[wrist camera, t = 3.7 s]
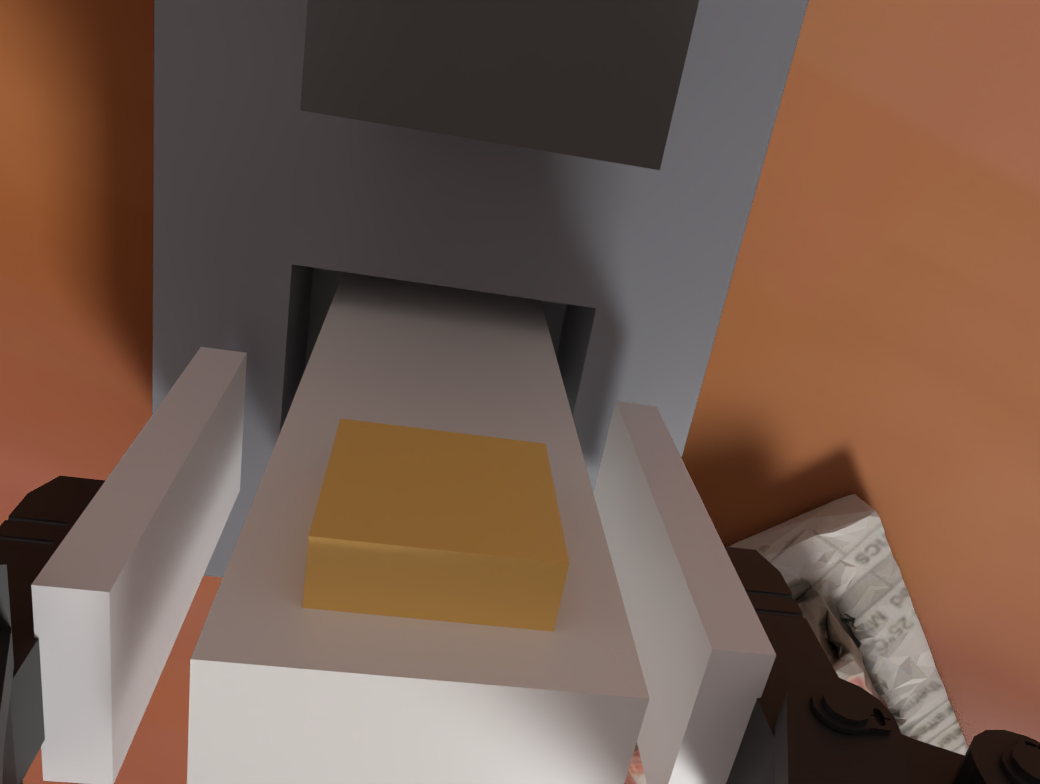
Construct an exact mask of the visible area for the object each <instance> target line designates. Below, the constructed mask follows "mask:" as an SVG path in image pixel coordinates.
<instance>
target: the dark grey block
mask: <svg viewBox="0 0 1040 784" xmlns="http://www.w3.org/2000/svg"><path fill="white" fill-rule="evenodd" d="M698 4H699V0H308V4H307V18H306V33H305V47H304V62H303V77H302V91H301V106H300V110H301V111H307V112H313V113H319V114H325V115H331V116H337V117H343V118H349V119H355V120H361V121H367V122H373V123H379V124H385V125H391V126H397V127H403V128H409V129H415V130H421V131H427V132H433V133H439V134H445V135H451V136H457V137H463V138H469V139H475V140H481V141H487V142H493V143H499V144H505V145H511V146H517V147H523V148H529V149H535V150H541V151H547V152H553V153H559V154H565V155H571V156H577V157H583V158H589V159H595V160H601V161H607V162H613V163H619V164H625V165H631V166H637V167H643V168H649V169H655V170H660V167H661V163H662V159H663V154H664V150H665V146H666V142H667V137H668V133H669V129H670V124H671V120H672V116H673V111H674V107H675V103H676V99H677V94H678V90H679V86H680V81H681V77H682V73H683V68H684V64H685V60H686V55H687V51H688V47H689V43H690V38H691V34H692V30H693V25H694V21H695V17H696V12H697V8H698Z"/></svg>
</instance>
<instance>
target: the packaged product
mask: <svg viewBox="0 0 1040 784" xmlns="http://www.w3.org/2000/svg"><path fill="white" fill-rule="evenodd" d="M728 547H735V548H744V549H753V550H757V551H758V552H759V553H760V554H761V555H762V556H763V557H764V558H765V559H767V560H768V561H769V562H770V563H771V564H772V565H773V566H774V567H775V568H777V569H778V570H779V571H780V573H781V574H782V576H783V578H784V580H785V582H786V583H787V585H788V587H789V589H790V591H791V592H792V594H793V595H792V599H795V600H796V601H797V603H798V605H799V607H800V609H801V610H802V612H803V618H806V619H807V621H808V623H809V625H810V626H811V628H812V630H813V632H814V634H815V635H816V637H817V639H818V641H819V643H820V644H821V646H822V648H823V650H824V652H825V653H826V655H827V657H828V659H829V661H830V662H831V664H832V666H833V668H834V670H835V671H836V673H837V675H838V677H839V678H841V679H844V680H846V681H848V682H851V683H853V684H855V685H858V686H860V687H861V688H863V689H864V690H866V691H867V692H869V693H870V694H872V695H873V696H875V697H876V698H877V699H879V700H880V701H881V702H882V703H883V704H884V706H885V707H886V708H887V709H888V710H889V711H890V712H891V713H892V714H893V715H894V718H895V720H896V722H897V724H898V727H899V729H900V731H901V734H903V735H906V736H908V737H911V738H913V739H916V740H919V741H922V742H925V743H928V744H931V745H934V746H937V747H940V748H943V749H946V750H949V751H952V752H956V753H959V754H962V755H965V754H966V752H967V750H968V746H967V744H966V741H965V739H964V736H963V734H962V731H961V729H960V726H959V723H958V721H957V719H956V716H955V714H954V711H953V709H952V707H951V704H950V702H949V700H948V697H947V694H946V691H945V688H944V685H943V683H942V681H941V678H940V676H939V674H938V671H937V669H936V667H935V664H934V661H933V658H932V655H931V652H930V649H929V646H928V644H927V641H926V638H925V636H924V633H923V630H922V628H921V625H920V622H919V620H918V618H917V615H916V613H915V610H914V608H913V605H912V602H911V599H910V596H909V593H908V591H907V588H906V586H905V584H904V581H903V579H902V576H901V573H900V569H899V567H898V565H897V563H896V561H895V559H894V557H893V555H892V552H891V549H890V546H889V544H888V542H887V540H886V536H885V532H884V529H883V526H882V523H881V520H880V517H879V515H878V514H877V512H876V510H875V509H873V508H872V507H871V506H869V505H868V504H867V503H866V502H864V501H863V500H862V499H860V498H859V497H858V496H857V495H855V494H852V495H849V496H846V497H843V498H840V499H837V500H834V501H832V502H830V503H827V504H825V505H823V506H820V507H818V508H816V509H813V510H811V511H809V512H806V513H804V514H802V515H799V516H797V517H795V518H792V519H790V520H788V521H786V522H783V523H781V524H779V525H776V526H774V527H772V528H769V529H767V530H765V531H762V532H760V533H758V534H755V535H753V536H751V537H748V538H746V539H744V540H741V541H739V542H737V543H735V544H733V545H731V546H728ZM624 784H647V782H646V778H645V774H644V770H643V766H642V761H641V757H640V753H639V749H638V745H637V743H636V746H635V749H634V753H633V756H632V759H631V763H630V766H629V769H628V773H627V776H626V780H625V783H624Z"/></svg>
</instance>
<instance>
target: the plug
mask: <svg viewBox="0 0 1040 784" xmlns="http://www.w3.org/2000/svg"><path fill="white" fill-rule="evenodd" d="M649 699H650V698H649V694H648V691H647V687H646V683H645V680H644V676H643V672H642V669H641V665H640V661H639V658H638V654H637V650H636V647H635V643H634V639H633V636H632V632H631V629H630V625H629V621H628V618H627V614H626V610H625V607H624V603H623V599H622V596H621V592H620V588H619V585H618V581H617V577H616V574H615V570H614V566H613V563H612V559H611V555H610V552H609V548H608V544H607V541H606V537H605V534H604V530H603V526H602V523H601V519H600V515H599V512H598V508H597V504H596V501H595V497H594V493H593V490H592V486H591V482H590V479H589V475H588V471H587V468H586V464H585V460H584V457H583V453H582V450H581V446H580V442H579V439H578V435H577V431H576V428H575V424H574V420H573V417H572V413H571V409H570V406H569V402H568V398H567V395H566V391H565V387H564V384H563V380H562V376H561V373H560V369H559V366H558V362H557V358H556V355H555V351H554V347H553V344H552V340H551V336H550V333H549V329H548V325H547V322H546V318H545V314H544V311H543V307H542V303H541V300H535V299H528V298H521V297H514V296H507V295H501V294H494V293H487V292H480V291H473V290H466V289H459V288H452V287H445V286H438V285H431V284H424V283H417V282H410V281H403V280H396V279H389V278H382V277H376V276H369V275H362V274H355V273H348V272H344V273H343V275H342V278H341V280H340V283H339V285H338V288H337V290H336V293H335V295H334V298H333V300H332V303H331V305H330V308H329V310H328V313H327V316H326V318H325V321H324V323H323V326H322V328H321V331H320V333H319V336H318V338H317V341H316V343H315V346H314V348H313V351H312V353H311V356H310V359H309V361H308V364H307V366H306V369H305V371H304V374H303V376H302V379H301V381H300V384H299V386H298V389H297V391H296V394H295V396H294V399H293V401H292V404H291V407H290V409H289V412H288V414H287V417H286V419H285V422H284V424H283V427H282V429H281V432H280V434H279V437H278V439H277V442H276V444H275V447H274V450H273V452H272V455H271V457H270V460H269V462H268V465H267V467H266V470H265V472H264V475H263V477H262V480H261V482H260V485H259V487H258V490H257V492H256V495H255V498H254V500H253V503H252V505H251V508H250V510H249V513H248V515H247V518H246V520H245V523H244V525H243V528H242V530H241V533H240V535H239V538H238V541H237V543H236V546H235V548H234V551H233V553H232V556H231V558H230V561H229V563H228V566H227V568H226V571H225V573H224V576H223V578H222V581H221V583H220V586H219V589H218V591H217V594H216V596H215V599H214V601H213V604H212V606H211V609H210V611H209V614H208V616H207V619H206V621H205V624H204V626H203V629H202V632H201V634H200V637H199V639H198V642H197V644H196V647H195V649H194V652H193V654H192V657H191V661H190V698H189V734H188V771H187V784H624V783H625V780H626V776H627V773H628V769H629V766H630V763H631V759H632V756H633V753H634V749H635V746H636V743H637V739H638V736H639V733H640V729H641V726H642V723H643V719H644V716H645V713H646V709H647V706H648V703H649Z"/></svg>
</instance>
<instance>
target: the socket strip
mask: <svg viewBox="0 0 1040 784" xmlns="http://www.w3.org/2000/svg"><path fill="white" fill-rule="evenodd" d="M808 1H809V0H699V4H698V8H697V12H696V17H695V21H694V25H693V30H692V34H691V38H690V43H689V47H688V51H687V55H686V60H685V64H684V68H683V73H682V77H681V81H680V86H679V90H678V94H677V99H676V103H675V107H674V111H673V116H672V120H671V124H670V129H669V133H668V137H667V142H666V146H665V150H664V154H663V159H662V163H661V167H660V170H655V169H649V168H643V167H637V166H631V165H625V164H619V163H613V162H607V161H601V160H595V159H589V158H583V157H577V156H571V155H565V154H559V153H553V152H547V151H541V150H535V149H529V148H523V147H517V146H511V145H505V144H499V143H493V142H487V141H481V140H475V139H469V138H463V137H457V136H451V135H445V134H439V133H433V132H427V131H421V130H415V129H409V128H403V127H397V126H391V125H385V124H379V123H373V122H367V121H361V120H355V119H349V118H343V117H337V116H331V115H325V114H319V113H313V112H307V111H301V110H300V106H301V91H302V77H303V62H304V47H305V33H306V18H307V4H308V0H154V180H153V397H152V415H153V413H154V412H155V411H156V409H157V408H158V406H159V405H160V403H161V402H162V401H163V399H164V398H165V396H166V395H167V394H168V392H169V391H170V389H171V388H172V387H173V385H174V384H175V382H176V381H177V380H178V378H179V377H180V375H181V374H182V373H183V371H184V370H185V368H186V367H187V366H188V364H189V363H190V361H191V360H192V359H193V357H194V356H195V354H196V353H197V352H198V350H199V349H200V347H207V348H214V349H222V350H230V351H237V352H245V353H247V361H246V380H245V400H244V420H243V439H242V459H241V479H240V491H239V494H238V496H237V498H236V501H235V503H234V505H233V508H232V510H231V512H230V515H229V517H228V519H227V522H226V524H225V526H224V529H223V531H222V533H221V536H220V538H219V540H218V542H217V545H216V547H215V549H214V552H213V554H212V556H211V559H210V561H209V563H208V566H207V568H206V570H205V573H204V575H205V576H216V577H223V576H224V573H225V571H226V568H227V566H228V563H229V561H230V558H231V556H232V553H233V551H234V548H235V546H236V543H237V541H238V538H239V535H240V533H241V530H242V528H243V525H244V523H245V520H246V518H247V515H248V513H249V510H250V508H251V505H252V503H253V500H254V498H255V495H256V492H257V490H258V487H259V485H260V482H261V480H262V477H263V475H264V472H265V470H266V467H267V465H268V462H269V460H270V457H271V455H272V452H273V450H274V447H275V444H276V442H277V439H278V437H279V434H280V432H281V429H282V427H283V424H284V422H285V419H286V417H287V414H288V412H289V409H290V407H291V404H292V401H293V399H294V396H295V394H296V391H297V389H298V386H299V384H300V381H301V379H302V376H303V374H304V371H305V369H306V366H307V364H308V361H309V359H310V356H311V353H312V351H313V348H314V346H315V343H316V341H317V338H318V336H319V333H320V331H321V328H322V326H323V323H324V321H325V318H326V316H327V313H328V310H329V308H330V305H331V303H332V300H333V298H334V295H335V293H336V290H337V288H338V285H339V283H340V280H341V278H342V275H343V273H344V272H348V273H355V274H362V275H369V276H376V277H382V278H389V279H396V280H403V281H410V282H417V283H424V284H431V285H438V286H445V287H452V288H459V289H466V290H473V291H480V292H487V293H494V294H501V295H507V296H514V297H521V298H528V299H535V300H541V303H542V307H543V311H544V314H545V318H546V322H547V325H548V329H549V333H550V336H551V340H552V344H553V347H554V351H555V355H556V358H557V362H558V366H559V369H560V373H561V376H562V380H563V384H564V387H565V391H566V395H567V398H568V402H569V406H570V409H571V413H572V417H573V420H574V424H575V428H576V431H577V435H578V439H579V442H580V446H581V450H582V453H583V457H584V460H585V464H586V468H587V471H588V475H589V479H590V482H591V486H592V490H593V493H594V490H595V486H596V482H597V478H598V473H599V469H600V465H601V461H602V457H603V452H604V448H605V444H606V440H607V435H608V431H609V427H610V423H611V419H612V414H613V410H614V406H615V402H616V401H621V402H628V403H636V404H644V405H651V406H657V408H658V410H659V413H660V415H661V417H662V419H663V421H664V423H665V425H666V427H667V429H668V431H669V433H670V435H671V437H672V440H673V442H674V444H675V446H676V448H677V450H678V452H679V454H680V456H681V458H682V454H683V451H684V447H685V443H686V440H687V436H688V433H689V429H690V425H691V422H692V418H693V415H694V411H695V407H696V404H697V400H698V397H699V393H700V389H701V386H702V382H703V379H704V375H705V371H706V368H707V364H708V361H709V357H710V353H711V350H712V346H713V343H714V339H715V335H716V332H717V328H718V325H719V321H720V317H721V314H722V310H723V307H724V303H725V299H726V296H727V292H728V289H729V285H730V282H731V278H732V274H733V271H734V267H735V264H736V260H737V256H738V253H739V249H740V246H741V242H742V238H743V235H744V231H745V228H746V224H747V220H748V217H749V213H750V210H751V206H752V202H753V199H754V195H755V192H756V188H757V184H758V181H759V177H760V174H761V170H762V166H763V163H764V159H765V156H766V152H767V148H768V145H769V141H770V138H771V134H772V130H773V127H774V123H775V120H776V116H777V112H778V109H779V105H780V102H781V98H782V94H783V91H784V87H785V84H786V80H787V77H788V73H789V69H790V66H791V62H792V59H793V55H794V51H795V48H796V44H797V41H798V37H799V33H800V30H801V26H802V23H803V19H804V15H805V12H806V8H807V5H808Z"/></svg>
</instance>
